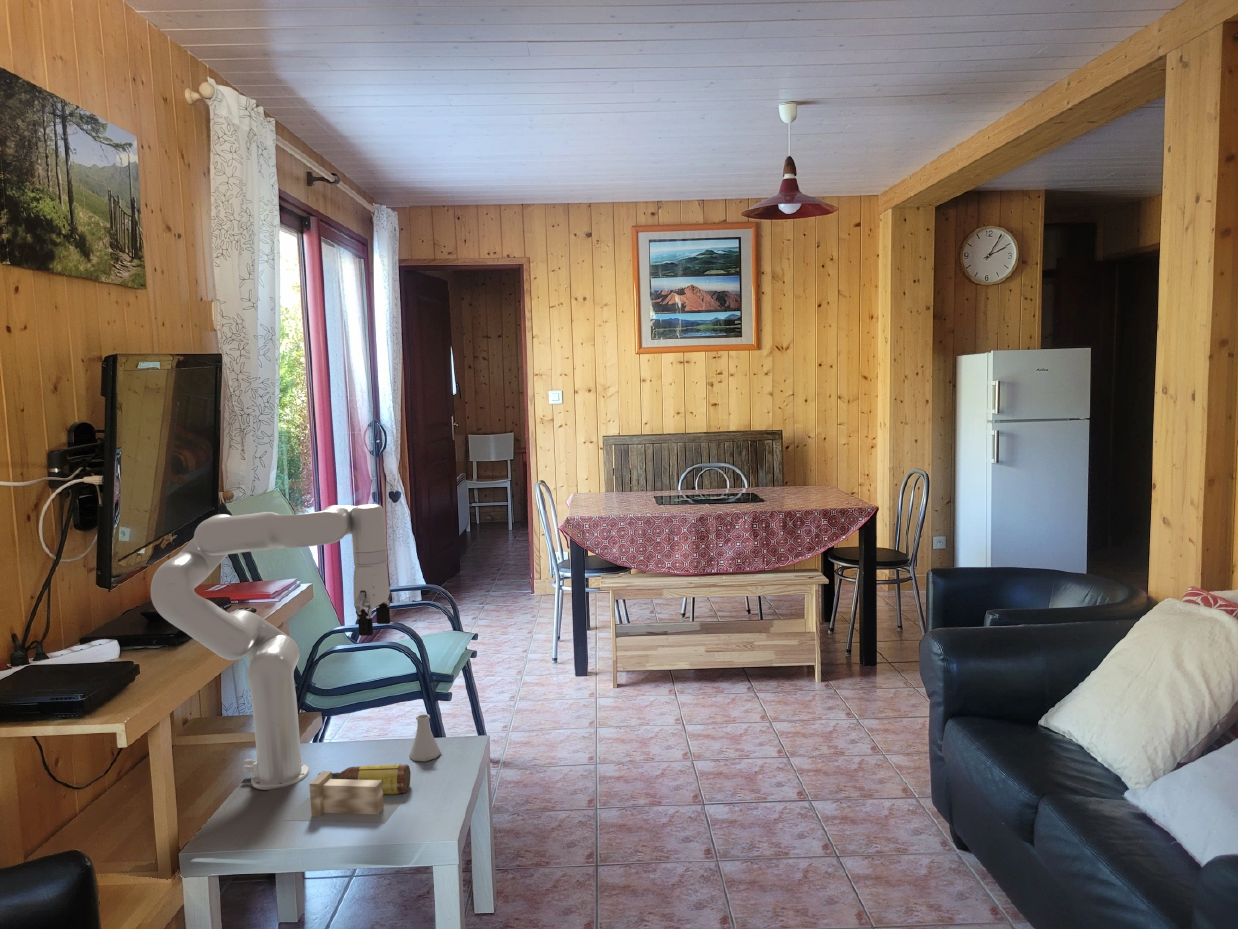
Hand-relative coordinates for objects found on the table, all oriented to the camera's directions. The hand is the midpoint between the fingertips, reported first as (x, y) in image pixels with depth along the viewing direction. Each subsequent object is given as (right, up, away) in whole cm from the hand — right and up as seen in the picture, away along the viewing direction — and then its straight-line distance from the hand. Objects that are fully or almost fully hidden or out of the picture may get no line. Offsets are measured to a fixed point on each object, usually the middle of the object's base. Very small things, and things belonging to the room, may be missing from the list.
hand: (375, 629), depth 205 cm
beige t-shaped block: (0, -35, -20) cm, 40 cm away
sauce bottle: (+11, -31, -12) cm, 35 cm away
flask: (+10, -33, +8) cm, 35 cm away
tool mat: (-1, -35, -20) cm, 40 cm away
